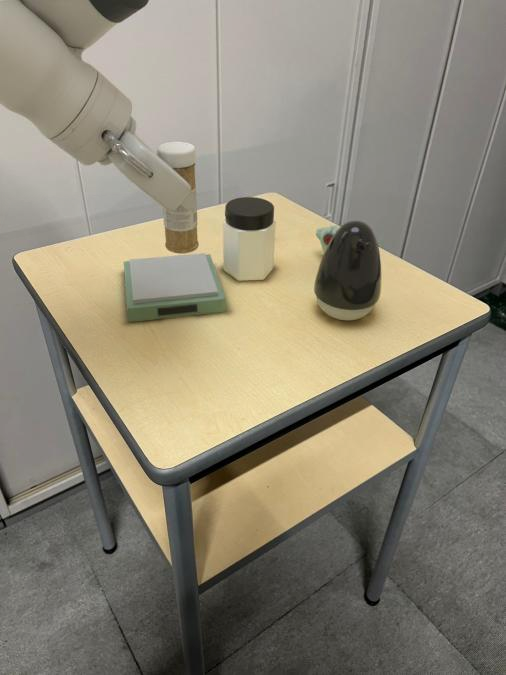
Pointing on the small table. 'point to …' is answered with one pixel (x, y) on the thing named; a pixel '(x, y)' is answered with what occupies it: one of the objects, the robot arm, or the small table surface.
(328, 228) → the robot head
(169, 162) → the sprinkles bottle
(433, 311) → the small table surface
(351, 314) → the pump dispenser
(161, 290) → the kitchen scale
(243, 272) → the jar
